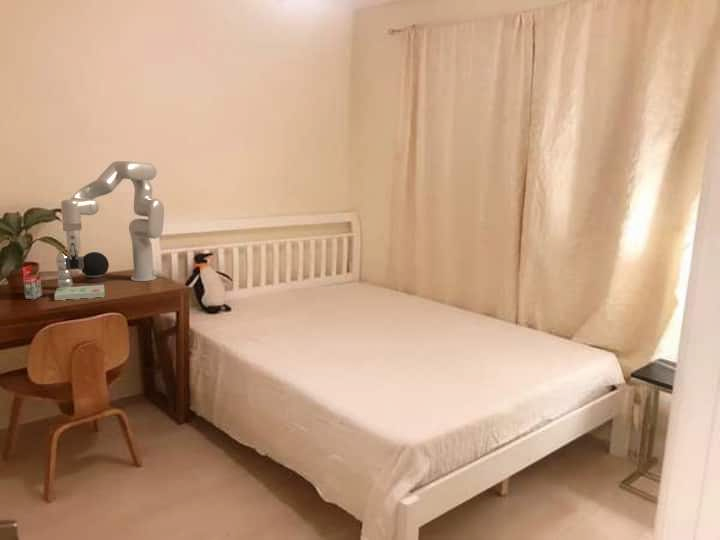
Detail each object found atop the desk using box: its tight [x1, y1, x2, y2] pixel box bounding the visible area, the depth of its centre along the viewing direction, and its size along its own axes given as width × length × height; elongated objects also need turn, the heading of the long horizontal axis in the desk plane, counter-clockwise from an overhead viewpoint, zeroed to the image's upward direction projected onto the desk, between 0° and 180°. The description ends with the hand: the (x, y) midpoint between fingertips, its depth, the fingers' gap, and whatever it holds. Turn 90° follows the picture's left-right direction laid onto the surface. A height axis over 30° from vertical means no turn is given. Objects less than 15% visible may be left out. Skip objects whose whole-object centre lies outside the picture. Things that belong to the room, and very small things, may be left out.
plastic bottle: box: [55, 246, 74, 288], centre depth 268 cm, size 6×7×20 cm
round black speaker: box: [82, 251, 110, 284], centre depth 286 cm, size 13×13×15 cm
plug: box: [65, 255, 84, 274], centre depth 255 cm, size 7×5×7 cm
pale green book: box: [53, 284, 105, 301], centre depth 258 cm, size 20×15×3 cm
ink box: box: [22, 264, 43, 301], centre depth 251 cm, size 4×8×15 cm, turn 3°
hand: (74, 266), depth 255 cm, fingers closed on plug, 5 cm apart
